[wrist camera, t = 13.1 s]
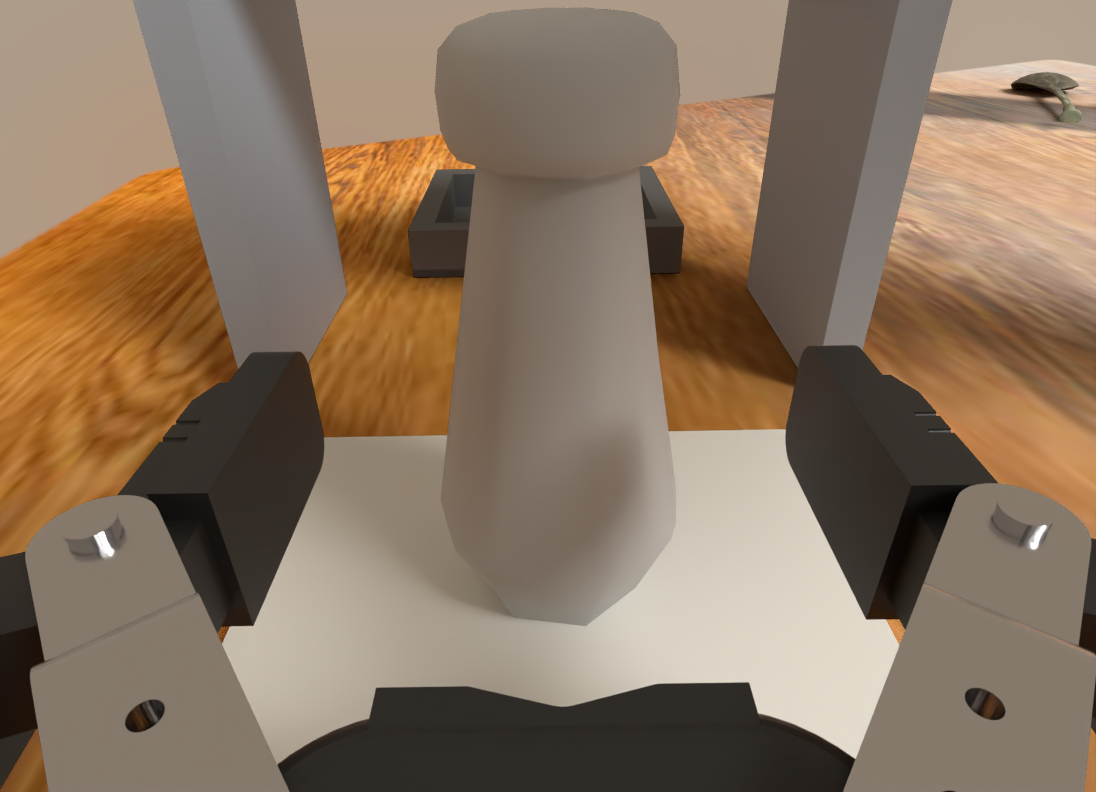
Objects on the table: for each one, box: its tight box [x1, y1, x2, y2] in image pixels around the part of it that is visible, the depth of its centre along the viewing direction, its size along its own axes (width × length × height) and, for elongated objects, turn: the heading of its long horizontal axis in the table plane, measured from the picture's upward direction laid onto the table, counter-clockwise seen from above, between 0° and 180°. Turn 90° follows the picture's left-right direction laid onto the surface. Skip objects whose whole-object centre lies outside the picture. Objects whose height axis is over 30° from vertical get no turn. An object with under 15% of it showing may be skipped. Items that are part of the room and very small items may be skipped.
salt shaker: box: [435, 8, 680, 626], centre depth 15 cm, size 6×6×13 cm
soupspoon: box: [1011, 72, 1082, 123], centre depth 76 cm, size 22×3×7 cm
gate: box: [133, 0, 952, 369], centre depth 26 cm, size 23×10×20 cm, turn 91°
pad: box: [222, 429, 899, 764], centre depth 18 cm, size 16×14×1 cm
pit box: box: [408, 166, 684, 277], centre depth 41 cm, size 14×12×2 cm
